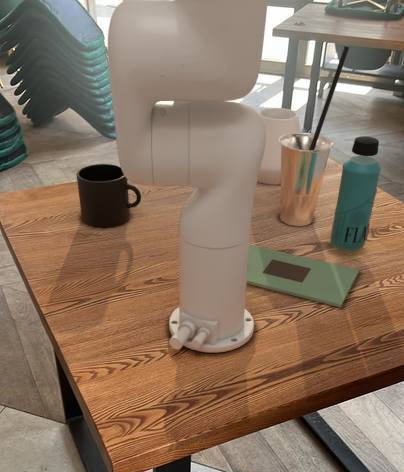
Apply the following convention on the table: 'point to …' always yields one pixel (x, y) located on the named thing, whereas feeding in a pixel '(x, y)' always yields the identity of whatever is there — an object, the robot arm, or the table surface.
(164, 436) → the table surface
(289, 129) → the cup
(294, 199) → the copper tumbler with straw
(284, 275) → the mat
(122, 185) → the mug
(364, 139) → the beverage bottle
